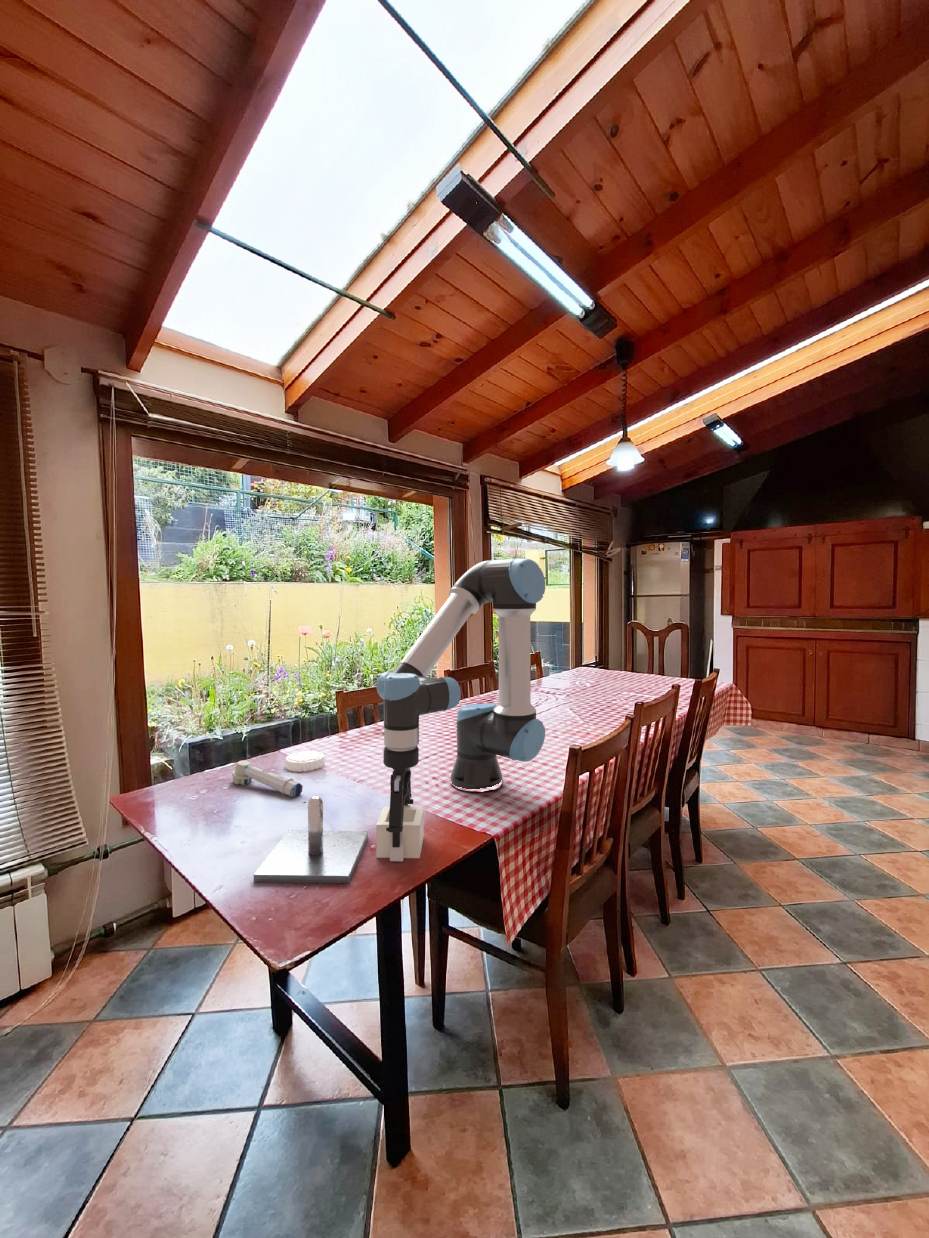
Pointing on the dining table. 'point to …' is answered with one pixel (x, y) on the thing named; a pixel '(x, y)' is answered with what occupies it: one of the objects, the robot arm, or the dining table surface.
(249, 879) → the dining table surface
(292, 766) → the mooncake
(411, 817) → the collar
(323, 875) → the post base
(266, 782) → the toothbrush head
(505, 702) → the robot arm
